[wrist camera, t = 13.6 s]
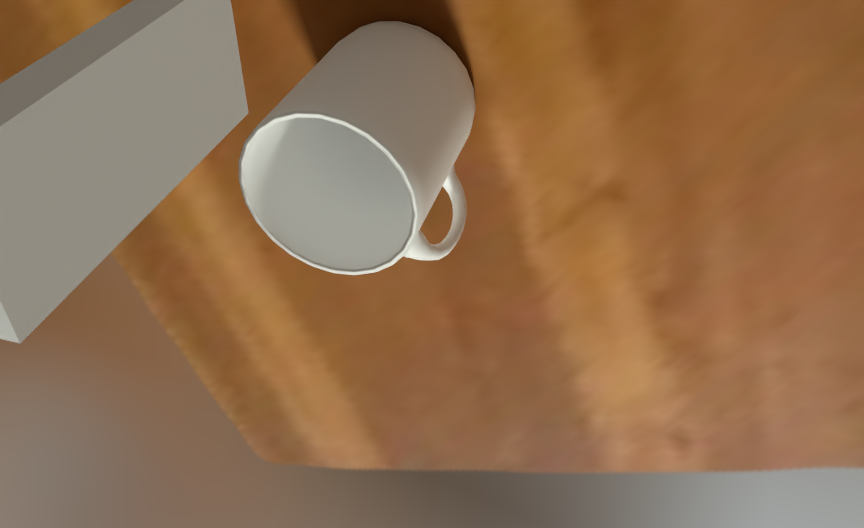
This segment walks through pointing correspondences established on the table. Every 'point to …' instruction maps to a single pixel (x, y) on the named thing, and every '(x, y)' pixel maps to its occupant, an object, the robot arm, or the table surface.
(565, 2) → the table surface
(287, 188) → the mug
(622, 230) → the table surface
